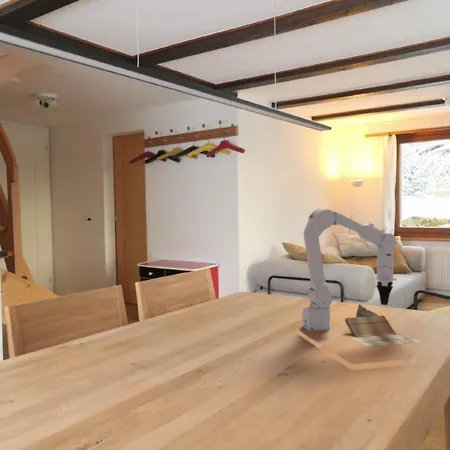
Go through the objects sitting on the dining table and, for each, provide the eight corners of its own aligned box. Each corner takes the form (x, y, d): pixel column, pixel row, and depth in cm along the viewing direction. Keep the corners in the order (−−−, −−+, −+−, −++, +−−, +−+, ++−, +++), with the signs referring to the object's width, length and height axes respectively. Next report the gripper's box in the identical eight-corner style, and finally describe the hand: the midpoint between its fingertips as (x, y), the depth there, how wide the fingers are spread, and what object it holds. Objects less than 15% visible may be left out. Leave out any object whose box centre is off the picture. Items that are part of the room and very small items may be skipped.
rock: (374, 327, 180) (356, 305, 184) (363, 336, 183) (345, 314, 187) (385, 321, 189) (368, 300, 193) (374, 330, 192) (357, 309, 195)
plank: (355, 340, 166) (356, 337, 165) (344, 320, 173) (345, 317, 172) (394, 337, 170) (396, 334, 169) (382, 318, 177) (384, 315, 176)
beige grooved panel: (366, 350, 155) (366, 346, 154) (350, 342, 164) (350, 337, 164) (421, 346, 159) (421, 341, 159) (403, 338, 169) (403, 333, 169)
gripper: (397, 268, 172) (396, 307, 172) (396, 263, 185) (395, 299, 186) (375, 267, 174) (375, 305, 175) (376, 263, 188) (376, 298, 188)
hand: (384, 302), depth 180 cm, fingers open, 7 cm apart
